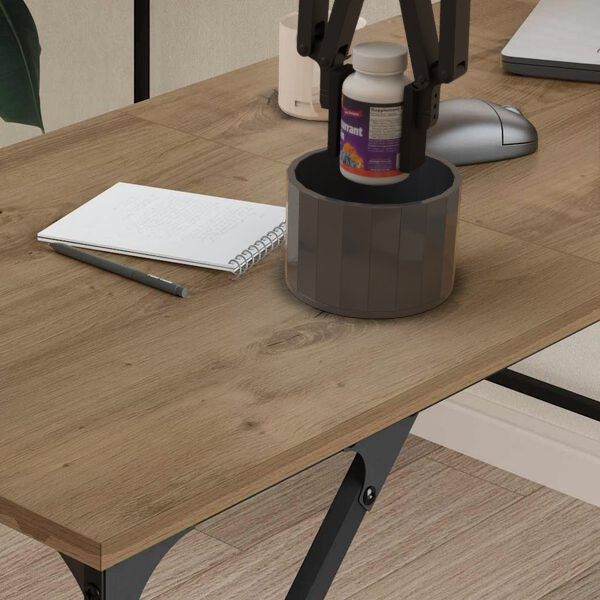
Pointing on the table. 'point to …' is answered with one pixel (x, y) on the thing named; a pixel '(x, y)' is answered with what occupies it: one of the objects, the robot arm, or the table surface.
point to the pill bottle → (374, 114)
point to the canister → (371, 238)
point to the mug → (304, 71)
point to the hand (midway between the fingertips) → (375, 158)
